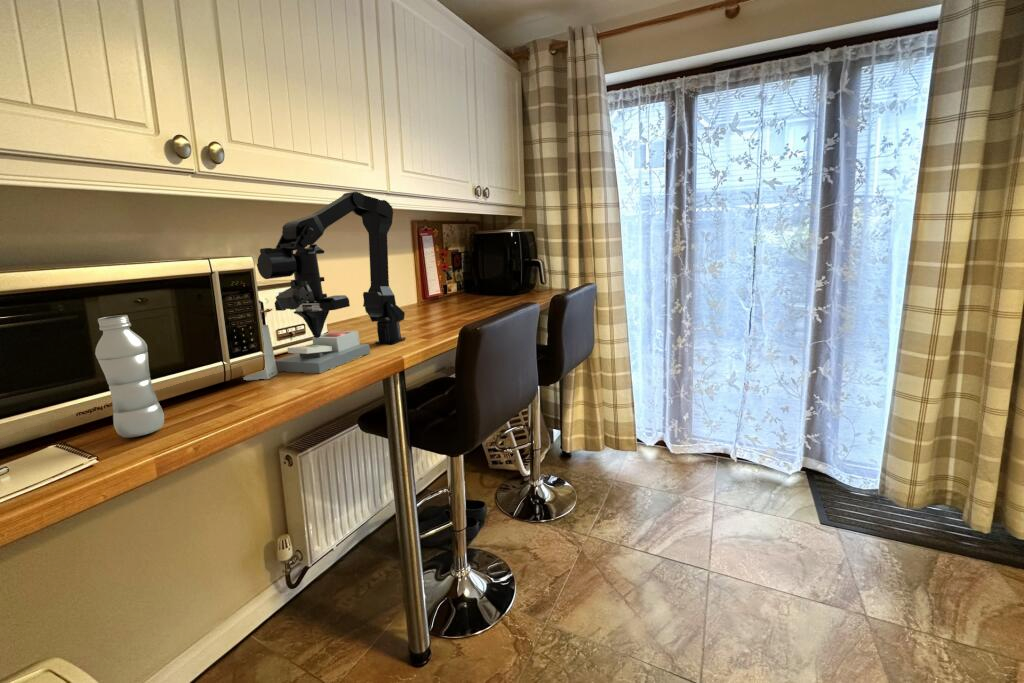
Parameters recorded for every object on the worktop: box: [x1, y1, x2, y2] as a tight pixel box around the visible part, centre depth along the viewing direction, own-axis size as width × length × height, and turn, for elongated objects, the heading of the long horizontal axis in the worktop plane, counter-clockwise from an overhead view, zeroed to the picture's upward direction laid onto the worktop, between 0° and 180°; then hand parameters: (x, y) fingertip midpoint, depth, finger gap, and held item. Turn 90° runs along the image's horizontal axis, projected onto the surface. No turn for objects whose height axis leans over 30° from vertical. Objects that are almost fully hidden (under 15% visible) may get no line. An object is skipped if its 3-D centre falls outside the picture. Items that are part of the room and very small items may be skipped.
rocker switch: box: [287, 344, 332, 354], centre depth 115 cm, size 8×6×1 cm
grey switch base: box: [275, 330, 371, 374], centre depth 119 cm, size 18×14×6 cm
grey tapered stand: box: [242, 324, 279, 381], centre depth 108 cm, size 6×4×12 cm
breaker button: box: [325, 331, 346, 337], centre depth 123 cm, size 5×5×4 cm
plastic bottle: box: [94, 314, 165, 439], centre depth 77 cm, size 6×7×20 cm
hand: (317, 337), depth 117 cm, fingers closed
